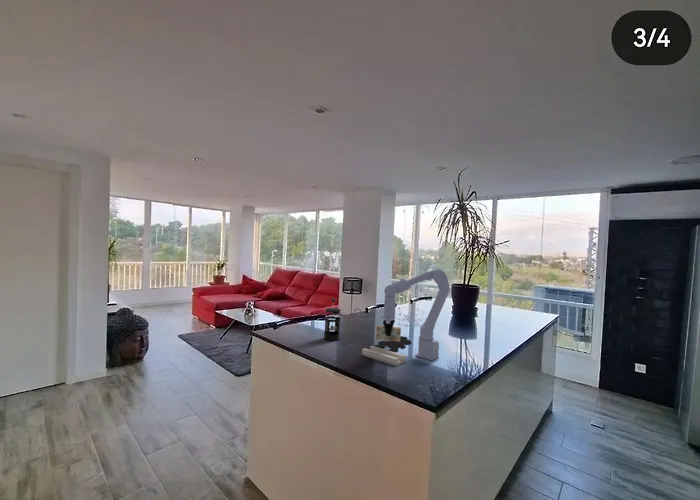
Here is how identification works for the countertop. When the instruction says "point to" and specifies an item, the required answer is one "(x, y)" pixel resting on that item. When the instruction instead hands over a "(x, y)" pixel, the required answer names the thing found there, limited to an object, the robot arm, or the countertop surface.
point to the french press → (332, 334)
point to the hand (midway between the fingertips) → (388, 334)
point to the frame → (393, 337)
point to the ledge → (384, 355)
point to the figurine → (394, 344)
